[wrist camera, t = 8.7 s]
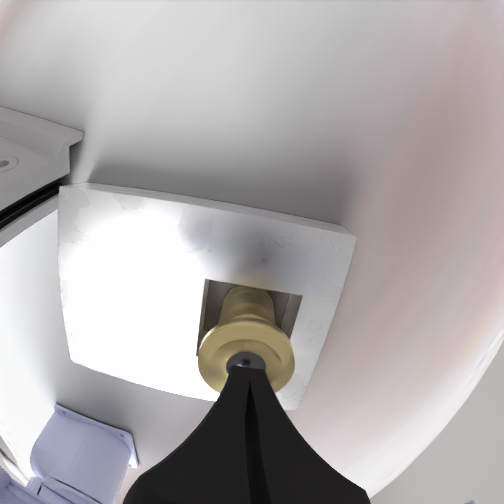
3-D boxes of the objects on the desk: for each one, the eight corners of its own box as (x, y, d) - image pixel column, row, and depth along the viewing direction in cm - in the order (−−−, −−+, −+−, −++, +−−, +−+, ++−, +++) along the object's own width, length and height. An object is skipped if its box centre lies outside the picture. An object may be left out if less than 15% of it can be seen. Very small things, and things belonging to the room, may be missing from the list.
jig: (88, 339, 19) (71, 361, 16) (86, 182, 15) (59, 186, 13) (291, 382, 20) (296, 410, 17) (340, 225, 16) (357, 236, 13)
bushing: (209, 331, 18) (194, 393, 12) (217, 269, 17) (200, 319, 11) (275, 340, 18) (283, 404, 13) (288, 280, 17) (305, 333, 11)
